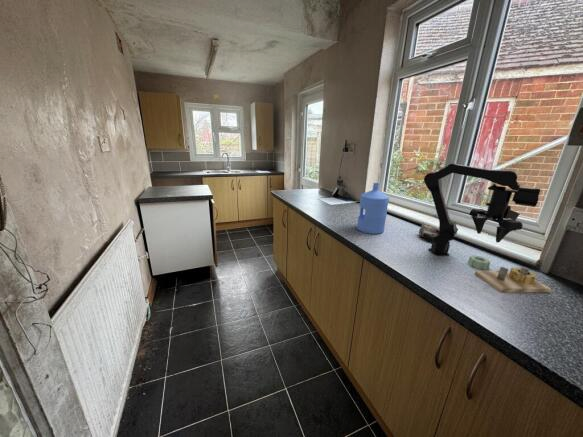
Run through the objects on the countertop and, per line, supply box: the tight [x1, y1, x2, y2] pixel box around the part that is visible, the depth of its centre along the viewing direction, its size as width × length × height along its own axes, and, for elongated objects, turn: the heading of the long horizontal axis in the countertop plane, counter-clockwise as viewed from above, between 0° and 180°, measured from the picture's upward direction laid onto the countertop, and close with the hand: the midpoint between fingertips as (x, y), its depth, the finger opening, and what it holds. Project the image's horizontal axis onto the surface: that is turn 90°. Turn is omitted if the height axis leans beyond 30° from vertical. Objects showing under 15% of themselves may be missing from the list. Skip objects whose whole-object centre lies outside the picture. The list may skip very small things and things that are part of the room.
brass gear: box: [509, 267, 538, 284], centre depth 88 cm, size 7×7×3 cm
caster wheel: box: [418, 223, 438, 243], centre depth 128 cm, size 7×11×10 cm
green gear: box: [467, 254, 491, 270], centre depth 101 cm, size 7×7×3 cm
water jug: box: [356, 182, 390, 235], centre depth 136 cm, size 16×16×28 cm
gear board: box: [474, 266, 552, 293], centre depth 88 cm, size 18×12×6 cm, turn 91°
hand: (487, 237), depth 99 cm, fingers open, 9 cm apart
